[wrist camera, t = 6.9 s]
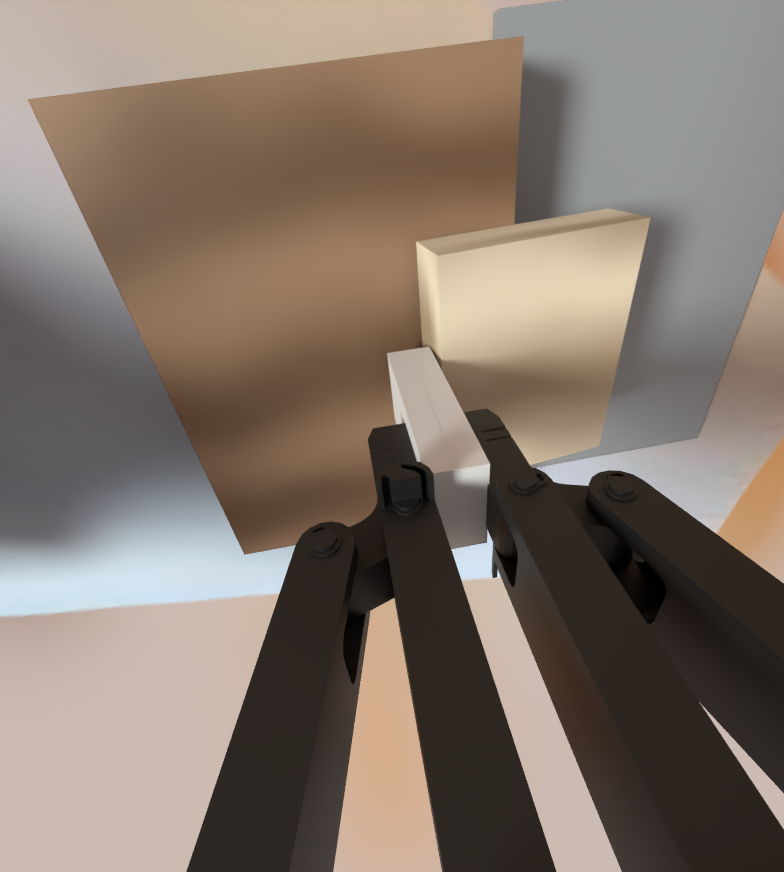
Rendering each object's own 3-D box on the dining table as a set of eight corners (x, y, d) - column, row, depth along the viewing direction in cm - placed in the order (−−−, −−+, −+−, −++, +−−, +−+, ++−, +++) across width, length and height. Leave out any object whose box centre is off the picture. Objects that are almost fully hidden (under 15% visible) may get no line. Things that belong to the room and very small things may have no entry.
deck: (91, 103, 14) (27, 99, 11) (478, 53, 15) (523, 35, 12) (253, 498, 25) (244, 554, 22) (476, 458, 26) (499, 506, 23)
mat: (493, 12, 15) (499, 8, 14) (858, -34, 15) (876, -39, 15) (484, 469, 26) (487, 476, 26) (690, 432, 27) (697, 437, 27)
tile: (416, 241, 14) (438, 255, 13) (608, 208, 15) (651, 217, 14) (429, 458, 19) (446, 487, 18) (571, 422, 21) (599, 446, 19)
